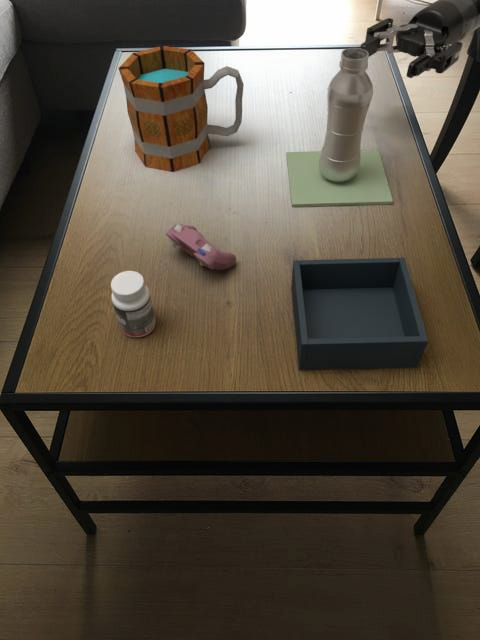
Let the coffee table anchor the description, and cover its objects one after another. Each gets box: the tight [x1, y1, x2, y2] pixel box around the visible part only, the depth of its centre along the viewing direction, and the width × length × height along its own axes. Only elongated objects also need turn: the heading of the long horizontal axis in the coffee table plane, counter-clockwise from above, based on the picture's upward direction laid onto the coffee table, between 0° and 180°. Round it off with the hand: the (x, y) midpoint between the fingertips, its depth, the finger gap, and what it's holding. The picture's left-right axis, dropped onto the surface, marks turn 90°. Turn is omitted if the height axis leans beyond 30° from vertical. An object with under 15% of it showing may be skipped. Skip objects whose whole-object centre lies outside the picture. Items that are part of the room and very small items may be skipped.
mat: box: [285, 149, 394, 208], centre depth 90 cm, size 16×14×1 cm
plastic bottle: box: [319, 47, 374, 182], centre depth 82 cm, size 6×7×20 cm
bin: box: [290, 257, 429, 371], centre depth 68 cm, size 15×14×6 cm
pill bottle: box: [110, 270, 157, 338], centre depth 68 cm, size 5×5×8 cm
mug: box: [118, 45, 245, 173], centre depth 90 cm, size 20×14×15 cm
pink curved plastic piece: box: [165, 222, 237, 270], centre depth 77 cm, size 10×5×7 cm, turn 45°
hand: (385, 61), depth 81 cm, fingers open, 8 cm apart
